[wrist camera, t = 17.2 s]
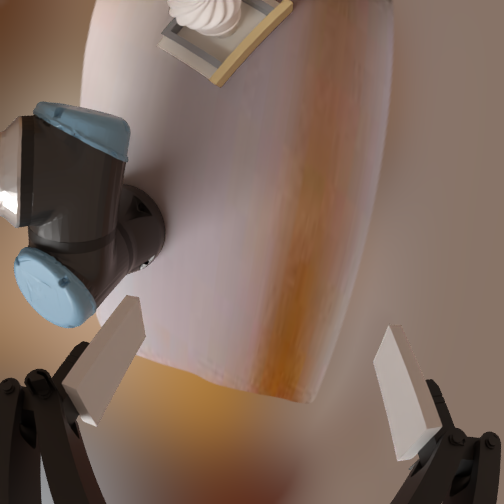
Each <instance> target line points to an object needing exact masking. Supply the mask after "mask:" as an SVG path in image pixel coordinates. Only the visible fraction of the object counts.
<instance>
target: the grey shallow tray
mask: <svg viewBox="0 0 504 504" xmlns="http://www.w3.org/2000/svg"><path fill="white" fill-rule="evenodd" d="M240 8H241V17H240V20H239V23H238V28H237V30H236V32H235V33H234V34H233V35H231V36H230V37H227V38H216V37H213V36H206V35H203V34H200V33H198V32H197V31H196V30H193V29H190V28H188V27H187V26H180V25H179V24H178V23H177V21H176V17H175V18H174V19H173V20H172V21H171V22H170V23H169V25H168V26H167V27H166V28H165V29H164V31H163V32H162V33H161V34H163V35H164V37H163V38H162V40H161V41H160V42H159V43H158V45H157V46H158V47H159V48H161V49H163V50H164V51H166V52H167V53H169V54H171V55H172V56H174V57H176V58H177V59H179V60H180V61H182V62H183V63H185V64H187V65H188V66H190V67H191V68H193V69H194V70H196V71H197V72H199V73H200V74H202V75H203V76H205V77H206V78H208V79H209V81H211V82H212V83H214V84H215V85H217V86H219V87H220V88H221V87H222V86H223V85H224V83H225V82H226V81H227V80H228V79H229V78H230V76H231V75H232V74H233V73H234V72H235V71H236V69H237V68H238V67H239V66H240V65H241V64H242V63H243V62H244V60H245V59H246V58H247V57H248V56H249V55H250V54H251V53H252V52H253V51H254V49H255V48H256V47H257V46H258V45H259V44H260V43H261V42H262V41H263V40H264V39H265V38H266V37H267V36H268V35H269V34H270V33H271V32H272V31H273V30H274V29H275V28H276V27H277V26H278V25H279V24H280V23H281V22H282V21H283V20H284V19H285V18H286V17H287V16H288V15H289V14H290V13H291V12H292V10H293V2H291V1H290V0H283V1H282V2H281V3H279V2H277V1H275V0H241V6H240Z"/></svg>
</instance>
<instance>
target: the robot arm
mask: <svg viewBox="0 0 504 504" xmlns="http://www.w3.org/2000/svg"><path fill="white" fill-rule="evenodd" d="M33 114H34V115H33V116H18V117H17V118H16V119H15V120H14V121H13V122H12V123H11V124H10V125H9V126H8V127H7V128H6V129H5V130H4V131H2V132H0V216H2V217H4V218H5V219H6V220H7V221H9V222H10V223H11V224H12V225H13V226H14V227H15V228H18V227H24V226H28V234H29V235H28V236H29V245H28V247H25V248H23V249H22V250H21V251H20V253H19V255H18V256H17V257H16V259H15V262H14V273H15V278H16V281H17V283H18V286H19V288H20V290H21V292H22V294H23V295H24V297H25V298H26V300H27V301H28V302H29V303H30V305H31V306H32V307H33V308H34V309H35V310H36V311H37V312H38V313H39V314H40V315H41V316H42V317H44V318H45V319H46V320H48V321H49V322H52V323H53V324H55V325H58V326H60V327H64V328H74V327H77V326H80V325H81V324H83V323H84V322H85V321H86V320H87V319H88V318H89V317H90V316H92V315H93V314H94V313H95V312H96V309H97V308H98V307H99V305H100V304H101V303H102V302H103V301H104V300H105V298H106V297H107V296H108V295H109V294H110V293H111V291H112V290H113V289H114V288H115V287H116V286H117V285H118V283H119V282H120V281H121V280H122V279H123V278H124V277H125V275H127V274H130V273H133V272H136V271H138V270H141V269H143V268H145V267H147V266H148V265H149V264H150V263H151V262H152V261H153V260H154V259H155V258H156V257H157V256H158V254H159V253H160V251H161V249H162V247H163V244H164V239H165V227H164V221H163V218H162V215H161V213H160V211H159V209H158V207H157V205H156V204H155V203H154V201H153V200H152V199H151V198H150V197H149V196H148V195H147V194H146V193H144V192H143V191H141V190H140V189H138V188H135V187H133V186H129V185H123V178H124V173H125V167H126V162H128V157H127V153H128V146H129V139H130V127H129V125H128V123H127V122H126V121H125V120H124V119H122V118H120V117H117V116H114V115H111V114H107V113H104V112H100V111H96V110H91V109H87V108H82V107H77V106H72V105H66V104H60V103H49V102H39V103H38V104H37V106H36V108H35V109H34V110H33ZM145 337H146V335H145V330H144V324H143V318H142V312H141V306H140V300H139V297H134V296H128V295H126V297H125V298H124V299H123V300H122V302H121V303H120V304H119V306H118V307H117V308H116V309H115V311H114V312H113V313H112V315H111V316H110V317H109V318H108V320H107V321H106V322H105V324H104V325H103V326H102V328H101V329H100V330H99V332H98V333H97V334H96V336H95V337H94V338H93V340H92V341H91V342H90V343H88V342H84V341H83V342H81V343H80V344H78V345H77V346H75V347H74V349H73V350H72V351H71V353H70V355H68V357H67V358H66V359H65V361H64V362H63V364H62V365H61V366H60V367H59V369H58V370H57V372H56V373H55V374H54V376H53V377H52V378H51V376H50V374H49V373H48V372H47V371H46V370H43V369H36V370H33V371H31V372H30V373H29V374H27V376H26V378H25V382H24V383H25V385H26V387H23V386H21V385H20V384H19V382H18V381H17V380H16V379H14V378H7V379H5V380H3V381H2V382H1V383H0V504H42V503H41V481H40V459H41V458H40V457H41V456H42V461H43V465H44V469H45V473H46V477H47V481H48V484H49V488H50V492H51V495H52V498H53V501H54V504H106V502H105V500H104V497H103V495H102V493H101V490H100V488H99V485H98V483H97V481H96V478H95V475H94V473H93V470H92V467H91V464H90V461H89V459H88V456H87V453H86V450H85V447H84V443H83V440H82V437H81V433H80V430H79V426H78V423H77V421H76V419H77V417H78V415H80V417H81V418H82V420H83V421H84V422H86V423H89V424H92V425H94V426H97V425H98V424H99V422H100V420H101V418H102V416H103V414H104V412H105V410H106V407H107V406H108V404H109V402H110V400H111V399H112V397H113V395H114V393H115V391H116V389H117V387H118V386H119V384H120V382H121V380H122V378H123V376H124V374H125V372H126V371H127V369H128V367H129V365H130V364H131V362H132V360H133V358H134V356H135V355H136V353H137V351H138V349H139V348H140V346H141V344H142V342H143V341H144V339H145ZM373 363H374V367H375V370H376V374H377V378H378V381H379V384H380V389H381V392H382V396H383V400H384V404H385V408H386V411H387V416H388V420H389V425H390V429H391V434H392V438H393V443H394V448H395V453H396V457H397V461H402V460H408V459H412V458H413V457H414V456H415V455H416V454H417V453H418V455H419V460H417V461H416V462H415V463H414V464H413V465H412V466H411V467H410V468H409V470H411V469H412V468H413V469H412V470H411V472H410V474H409V476H408V477H407V479H406V480H405V482H404V484H403V485H402V487H401V488H400V490H399V491H398V493H397V494H396V496H395V498H394V499H393V500H392V502H391V503H390V504H441V503H442V504H496V501H497V493H498V485H499V475H500V460H501V442H500V439H499V437H498V436H497V435H496V434H495V433H493V432H486V433H484V434H483V435H482V436H481V437H480V438H474V437H467V436H466V435H465V433H464V432H463V431H462V430H461V429H458V428H455V426H454V424H453V421H452V418H451V416H450V413H449V411H448V408H447V406H446V403H445V401H444V398H443V397H442V393H441V391H440V388H439V386H438V385H437V384H436V383H435V382H434V381H433V380H432V379H430V380H425V378H424V376H423V373H422V371H421V369H420V366H419V364H418V362H417V359H416V357H415V354H414V352H413V350H412V348H411V345H410V343H409V341H408V339H407V337H406V335H405V332H404V330H403V328H402V326H401V325H389V326H388V328H387V330H386V333H385V335H384V338H383V340H382V343H381V345H380V347H379V350H378V352H377V354H376V357H375V359H374V361H373Z"/></svg>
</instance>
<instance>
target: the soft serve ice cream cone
mask: <svg viewBox="0 0 504 504" xmlns="http://www.w3.org/2000/svg"><path fill="white" fill-rule="evenodd" d="M167 4H168V5H169V6H170V9H169V14H170V16H172V17H176V21H177V23H178V24H179V25H180V26H187V27H188V28H190V29H193V30H196V31H197V32H198V33H200V34H203V35H206V36H213V37H216V38H227V37H230V36H231V35H233V34H234V33H235V32H236V30H237V28H238V23H239V20H240V17H241V8H240V6H241V0H167Z"/></svg>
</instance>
